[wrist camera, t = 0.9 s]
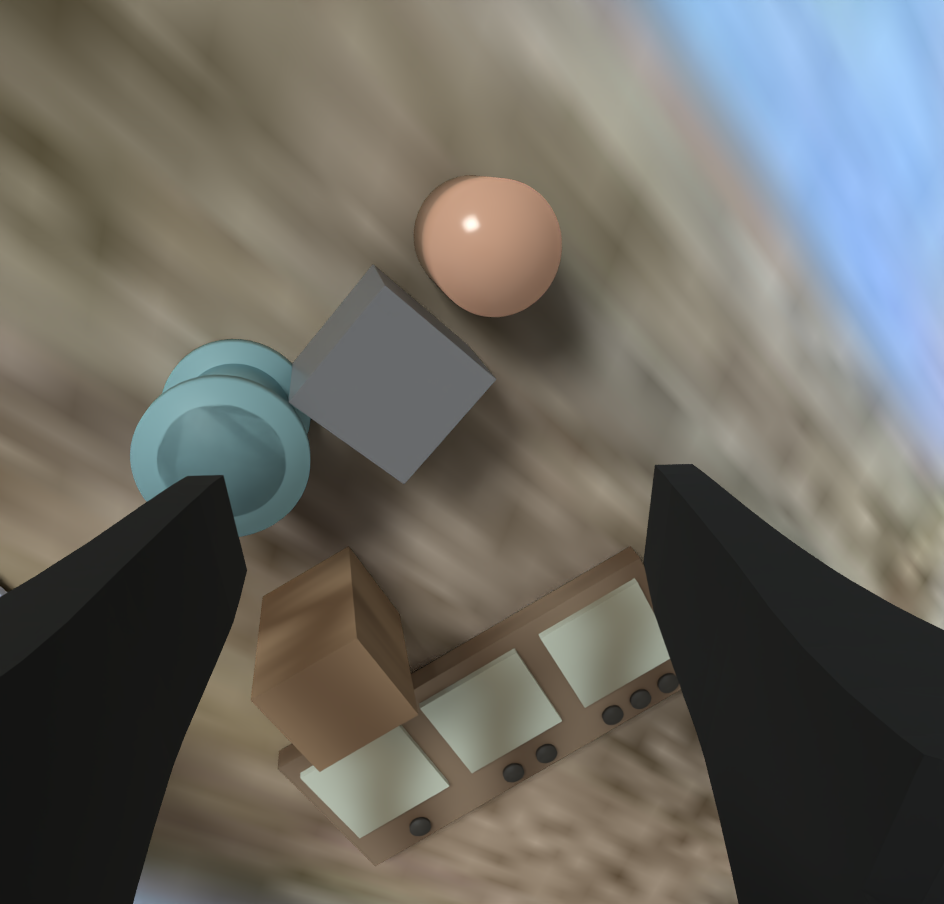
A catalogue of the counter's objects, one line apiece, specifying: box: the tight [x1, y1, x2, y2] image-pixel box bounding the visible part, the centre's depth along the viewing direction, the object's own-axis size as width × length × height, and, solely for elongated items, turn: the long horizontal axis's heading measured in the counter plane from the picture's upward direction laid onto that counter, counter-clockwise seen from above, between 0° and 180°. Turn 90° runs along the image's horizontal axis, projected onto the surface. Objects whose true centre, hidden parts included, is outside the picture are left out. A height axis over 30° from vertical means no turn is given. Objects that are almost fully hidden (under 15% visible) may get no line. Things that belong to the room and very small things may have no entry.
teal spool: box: [130, 339, 311, 537], centre depth 23 cm, size 5×5×5 cm
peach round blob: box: [414, 175, 562, 317], centre depth 23 cm, size 4×4×4 cm
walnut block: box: [251, 546, 418, 772], centre depth 26 cm, size 4×4×6 cm
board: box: [278, 547, 681, 866], centre depth 32 cm, size 18×8×1 cm, turn 118°
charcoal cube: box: [289, 265, 496, 484], centre depth 24 cm, size 4×4×4 cm
